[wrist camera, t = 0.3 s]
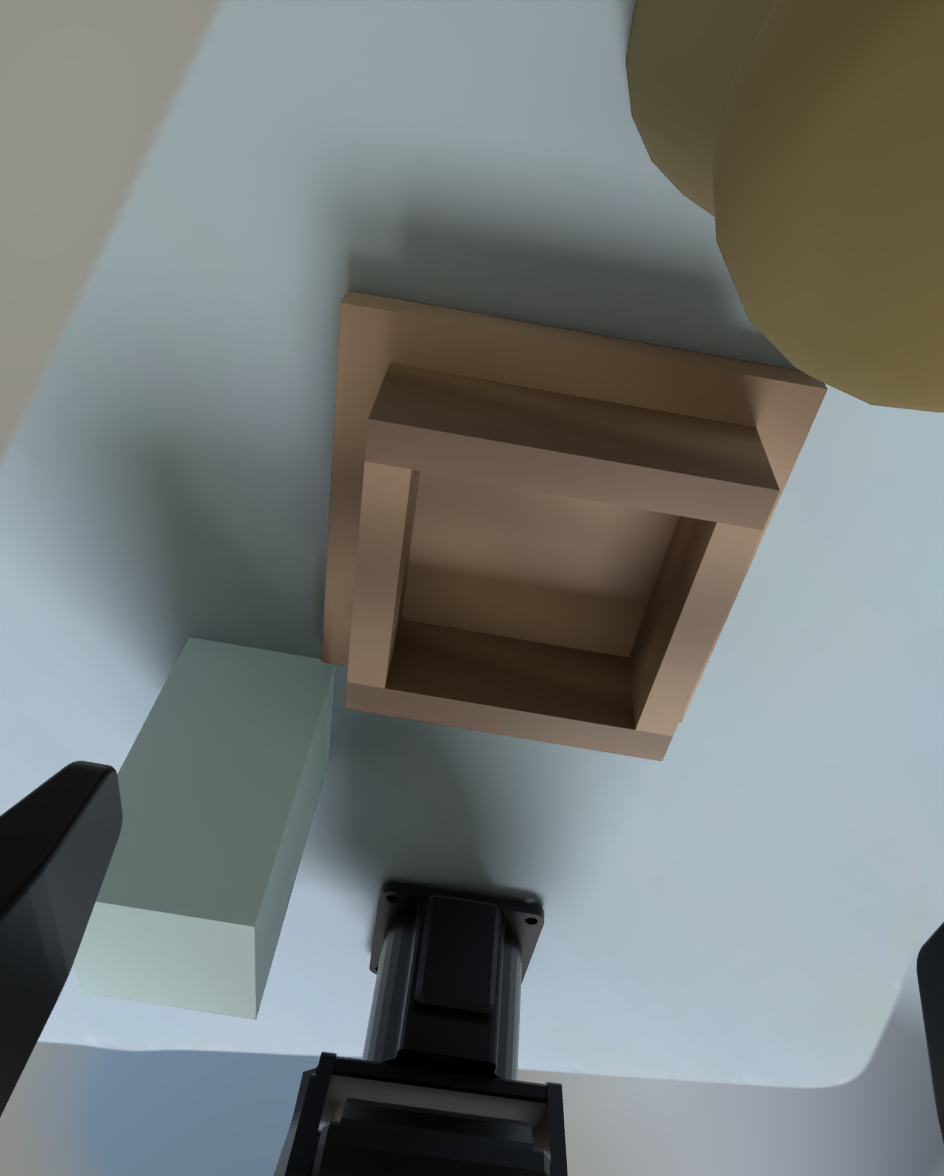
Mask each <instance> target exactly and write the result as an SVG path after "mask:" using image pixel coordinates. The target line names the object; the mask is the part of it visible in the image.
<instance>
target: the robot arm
mask: <svg viewBox="0 0 944 1176" xmlns="http://www.w3.org/2000/svg"><path fill="white" fill-rule="evenodd" d="M122 822H123V812H122V805H121V797H120V790H119V783H118V776H117V772H116V770H115V769H114V768H113V767H112V766H109V765H104V764H98V763H93V762H87V761H76V762H72V763H70V764H68V765H67V766H65V767H64V768H63V769H61V770H60V771H59V772H58V773H56V774H55V775H54V776H52V777H51V778H50V779H48V780H47V781H46V782H44V783H43V784H42V785H40V786H39V787H38V788H36V789H35V790H34V791H33V792H31V793H30V794H29V795H27V796H26V797H25V798H23V799H22V800H21V801H19V802H18V803H17V804H15V805H14V806H13V807H11V808H10V809H9V810H7V811H6V812H5V813H4V814H2V815H1V816H0V1117H1V1114H2V1112H3V1110H4V1108H5V1106H6V1104H7V1102H8V1100H9V1098H10V1096H11V1094H12V1092H13V1090H14V1088H15V1086H16V1084H17V1082H18V1079H19V1078H20V1076H21V1074H22V1071H23V1069H24V1067H25V1065H26V1063H27V1061H28V1059H29V1057H30V1055H31V1053H32V1051H33V1049H34V1046H35V1045H36V1043H37V1041H38V1039H39V1037H40V1035H41V1033H42V1031H43V1029H44V1026H45V1024H46V1022H47V1020H48V1018H49V1016H50V1014H51V1012H52V1010H53V1008H54V1006H55V1004H56V1002H57V1000H58V998H59V996H60V993H61V991H62V989H63V987H64V985H65V982H66V980H67V978H68V976H69V973H70V971H71V968H72V965H73V963H74V960H75V958H76V955H77V952H78V950H79V947H80V944H81V941H82V938H83V936H84V933H85V930H86V927H87V925H88V922H89V919H90V916H91V914H92V911H93V908H94V905H95V902H96V900H97V897H98V894H99V891H100V889H101V886H102V883H103V880H104V877H105V875H106V872H107V869H108V866H109V864H110V861H111V858H112V855H113V853H114V850H115V847H116V844H117V841H118V839H119V836H120V832H121V828H122ZM543 925H544V910H543V909H542V908H541V907H539V906H536V905H532V904H525V903H519V902H513V901H507V900H501V899H494V898H488V897H482V896H476V895H469V894H463V893H457V892H451V891H445V890H438V889H432V888H426V887H420V886H414V885H407V884H401V883H394V882H390V883H386V884H384V885H383V886H382V888H381V893H380V899H379V906H378V913H377V920H376V926H375V933H374V940H373V947H372V954H371V960H370V967H369V968H370V971H371V972H373V973H375V974H377V978H376V984H375V990H374V995H373V1001H372V1007H371V1012H370V1018H369V1023H368V1029H367V1035H366V1040H365V1046H364V1052H363V1057H362V1060H360V1059H352V1058H345V1057H337V1054H336V1053H329V1052H322V1053H321V1057H320V1061H319V1064H318V1066H317V1067H316V1068H315V1069H312V1070H308V1071H305V1072H303V1076H302V1080H301V1084H300V1088H299V1093H298V1097H297V1102H296V1106H295V1110H294V1114H293V1118H292V1122H291V1125H290V1128H289V1132H288V1135H287V1138H286V1140H285V1143H284V1146H283V1150H282V1152H281V1155H280V1158H279V1161H278V1164H277V1167H276V1171H275V1173H274V1176H567V1160H566V1145H565V1130H564V1115H563V1114H564V1113H563V1099H562V1085H561V1084H559V1083H552V1082H546V1084H539V1083H531V1082H524V1081H517V1070H518V1045H519V1021H520V996H521V984H522V981H523V978H524V975H525V973H526V970H527V967H528V965H529V962H530V959H531V957H532V954H533V951H534V949H535V946H536V943H537V941H538V938H539V935H540V933H541V930H542V927H543ZM917 977H918V984H919V991H920V998H921V1005H922V1013H923V1020H924V1026H925V1034H926V1041H927V1048H928V1055H929V1062H930V1069H931V1077H932V1083H933V1091H934V1097H935V1103H936V1108H937V1114H938V1119H939V1124H940V1128H941V1133H942V1137H943V1142H944V922H943V923H942V924H941V925H940V927H939V928H938V929H937V930H936V931H935V932H934V933H933V934H932V936H931V937H930V938H929V939H928V940H927V941H926V942H925V944H924V945H923V946H922V947H921V949H920V951H919V954H918V958H917Z"/></svg>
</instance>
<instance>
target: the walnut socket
mask: <svg viewBox="0 0 944 1176" xmlns="http://www.w3.org/2000/svg"><path fill="white" fill-rule="evenodd" d="M826 391H827V387H826V386H825V384H824V383H823V382H821V381H819V380H817V379H815V378H813V377H811V376H809V375H808V374H806V373H804V372H802V371H798V370H792V369H787V368H781V367H775V366H770V365H764V364H758V363H753V362H747V361H742V360H736V359H730V358H725V357H719V356H714V355H708V354H702V353H697V352H691V351H686V350H680V349H674V348H669V347H663V346H657V345H652V344H646V343H641V342H635V341H629V340H624V339H618V338H613V337H607V336H601V335H596V334H590V333H585V332H579V331H573V330H568V329H562V328H557V327H551V326H545V325H540V324H534V323H528V322H523V321H517V320H512V319H506V318H500V317H495V316H489V315H484V314H478V313H472V312H467V311H461V310H456V309H450V308H444V307H439V306H433V305H428V304H422V303H416V302H411V301H405V300H399V299H394V298H388V297H383V296H377V295H371V294H366V293H360V292H355V291H349V290H348V291H347V293H346V295H345V297H344V298H343V300H342V302H341V311H340V329H339V347H338V366H337V384H336V402H335V420H334V439H333V457H332V475H331V493H330V512H329V530H328V548H327V566H326V584H325V603H324V621H323V639H322V657H321V662H324V663H330V664H336V665H342V666H348V671H347V683H346V696H345V708H344V709H350V710H356V711H362V712H368V713H374V714H380V715H386V716H392V717H398V718H404V719H410V720H416V721H422V722H428V723H434V724H440V725H446V726H452V727H458V728H464V729H470V730H476V731H482V732H488V733H495V734H501V735H507V736H513V737H519V738H525V739H531V740H537V741H543V742H549V743H555V744H561V745H567V746H573V747H579V748H585V749H591V750H597V751H603V752H609V753H615V754H621V755H627V756H633V757H639V758H645V759H651V760H657V761H662V760H663V758H664V756H665V753H666V751H667V749H668V746H669V744H670V742H671V740H672V737H673V735H674V733H675V730H676V728H677V726H678V723H679V722H682V720H683V717H684V715H685V713H686V711H687V708H688V706H689V704H690V701H691V699H692V697H693V695H694V692H695V690H696V688H697V685H698V683H699V681H700V679H701V676H702V674H703V672H704V670H705V667H706V665H707V663H708V660H709V658H710V656H711V654H712V651H713V649H714V647H715V644H716V642H717V640H718V638H719V635H720V633H721V631H722V628H723V626H724V624H725V622H726V619H727V617H728V615H729V613H730V610H731V608H732V606H733V603H734V601H735V599H736V597H737V594H738V592H739V590H740V587H741V585H742V583H743V581H744V578H745V576H746V574H747V572H748V569H749V567H750V565H751V562H752V560H753V558H754V556H755V553H756V551H757V549H758V546H759V544H760V542H761V540H762V537H763V535H764V533H765V530H766V528H767V526H768V524H769V521H770V519H771V517H772V515H773V512H774V510H775V508H776V505H777V503H778V501H779V499H780V496H781V494H782V492H783V489H784V487H785V485H786V483H787V480H788V478H789V476H790V474H791V471H792V469H793V467H794V464H795V462H796V460H797V458H798V455H799V453H800V451H801V448H802V446H803V444H804V442H805V439H806V437H807V435H808V432H809V430H810V428H811V426H812V423H813V421H814V419H815V417H816V414H817V412H818V410H819V407H820V405H821V403H822V401H823V398H824V396H825V394H826Z"/></svg>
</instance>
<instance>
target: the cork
mask: <svg viewBox="0 0 944 1176" xmlns="http://www.w3.org/2000/svg"><path fill="white" fill-rule="evenodd" d="M626 67H627V76H628V85H629V94H630V103H631V113H632V117H633V120H634V122H635V124H636V126H637V129H638V131H639V133H640V136H641V138H642V140H643V142H644V145H645V147H646V149H647V151H648V154H649V156H650V158H651V161H652V162H653V163H654V164H655V165H656V166H657V167H658V168H659V169H660V170H661V172H662V173H663V174H664V175H665V176H666V177H667V178H668V179H669V180H670V181H671V182H672V183H673V184H674V185H675V186H676V188H677V189H678V190H679V191H680V192H681V193H682V194H683V195H685V196H686V197H687V198H689V199H690V200H692V201H693V202H694V203H696V204H697V205H699V206H700V207H701V208H703V209H704V210H706V211H707V212H709V213H710V214H711V215H713V216H714V217H715V223H716V239H717V244H718V246H719V248H720V251H721V253H722V256H723V258H724V261H725V263H726V265H727V268H728V270H729V272H730V275H731V277H732V280H733V282H734V284H735V287H736V289H737V292H738V294H739V296H740V299H741V301H742V303H743V306H744V308H745V311H746V313H747V315H748V318H749V320H750V322H751V323H752V324H753V325H754V326H755V327H756V328H757V329H758V330H759V331H760V332H761V333H762V334H763V335H764V336H765V337H766V338H767V339H768V340H769V341H770V342H771V343H772V344H773V345H774V346H775V347H776V349H777V350H778V351H779V352H780V353H781V354H782V355H783V356H784V357H785V358H786V359H787V360H788V361H789V362H790V363H791V364H792V365H793V366H794V367H795V368H797V369H799V370H801V371H802V372H804V373H806V374H808V375H809V376H811V377H813V378H815V379H817V380H819V381H821V382H823V383H826V384H828V385H830V386H832V387H834V388H836V389H838V390H841V391H843V392H845V393H847V394H849V395H851V396H853V397H856V398H858V399H860V400H862V401H864V402H866V403H868V404H871V405H877V406H886V407H895V408H904V409H913V410H921V411H930V412H939V413H940V412H944V0H637V1H636V4H635V10H634V16H633V22H632V28H631V34H630V40H629V46H628V52H627V58H626Z"/></svg>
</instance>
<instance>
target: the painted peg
mask: <svg viewBox="0 0 944 1176" xmlns="http://www.w3.org/2000/svg"><path fill="white" fill-rule="evenodd" d="M335 667H336V664H330V663H324V662H321V659H319V658H313V657H307V656H301V655H295V654H289V653H283V652H277V651H271V650H265V649H259V648H253V647H247V646H241V645H235V644H229V643H223V642H217V641H211V640H205V639H199V638H193V637H189V638H188V640H187V642H186V644H185V646H184V648H183V650H182V652H181V654H180V656H179V658H178V660H177V662H176V663H175V665H174V667H173V669H172V671H171V673H170V675H169V677H168V679H167V681H166V683H165V685H164V686H163V688H162V690H161V692H160V694H159V696H158V698H157V700H156V702H155V704H154V706H153V708H152V710H151V711H150V713H149V715H148V717H147V719H146V721H145V723H144V725H143V727H142V729H141V731H140V733H139V734H138V736H137V738H136V740H135V742H134V744H133V746H132V748H131V750H130V752H129V754H128V756H127V758H126V759H125V761H124V763H123V765H122V767H121V769H120V771H119V773H118V775H117V776H118V783H119V790H120V797H121V805H122V812H123V822H122V828H121V832H120V836H119V839H118V841H117V844H116V847H115V850H114V853H113V855H112V858H111V861H110V864H109V866H108V869H107V872H106V875H105V877H104V880H103V883H102V886H101V889H100V891H99V894H98V897H97V900H96V902H95V905H94V908H93V911H92V914H91V916H90V919H89V922H88V925H87V927H86V930H85V933H84V936H83V938H82V941H81V944H80V947H79V950H78V952H77V955H76V958H75V960H74V963H73V964H74V968H75V971H76V975H77V979H78V982H79V986H80V990H81V993H87V994H93V995H99V996H106V997H112V998H119V999H125V1000H131V1001H138V1002H144V1003H151V1004H157V1005H164V1006H170V1007H176V1008H183V1009H189V1010H196V1011H202V1012H208V1013H215V1014H221V1015H228V1016H234V1017H240V1018H247V1019H253V1020H256V1018H257V1014H258V1011H259V1007H260V1003H261V1000H262V996H263V993H264V989H265V986H266V982H267V978H268V975H269V971H270V968H271V964H272V961H273V957H274V953H275V950H276V946H277V943H278V939H279V935H280V932H281V928H282V925H283V921H284V918H285V914H286V910H287V907H288V903H289V900H290V896H291V893H292V889H293V885H294V882H295V878H296V875H297V871H298V867H299V864H300V860H301V857H302V853H303V850H304V846H305V842H306V839H307V835H308V832H309V828H310V825H311V821H312V817H313V814H314V810H315V807H316V803H317V799H318V796H319V792H320V789H321V785H322V782H323V778H324V774H325V771H326V767H327V764H328V760H329V753H330V739H331V725H332V710H333V696H334V681H335Z"/></svg>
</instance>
